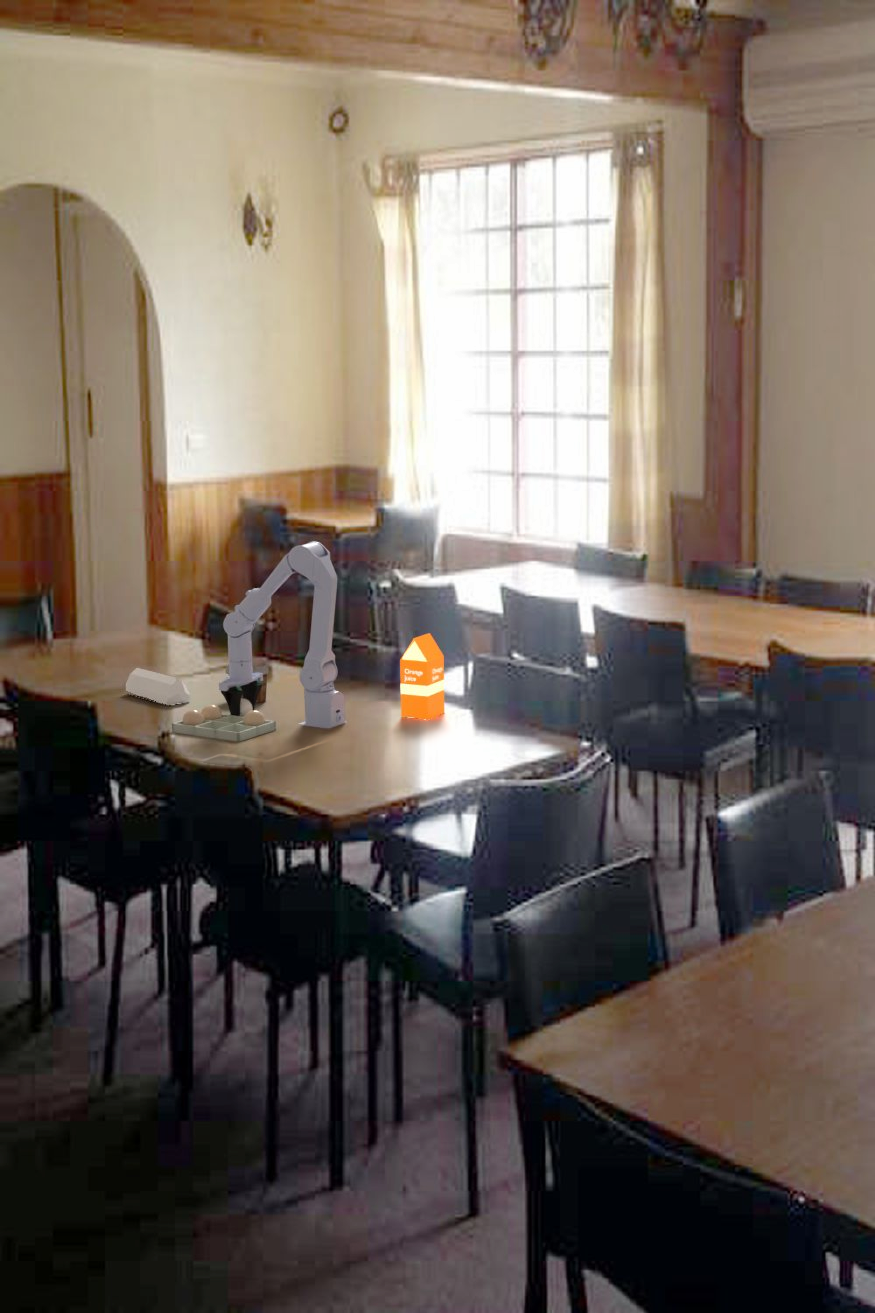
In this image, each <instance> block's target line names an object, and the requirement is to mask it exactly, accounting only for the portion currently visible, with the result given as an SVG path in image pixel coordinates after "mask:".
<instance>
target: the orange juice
mask: <svg viewBox="0 0 875 1313" xmlns="http://www.w3.org/2000/svg"><path fill="white" fill-rule="evenodd" d="M444 657H445V656H444V654H443V652H442V651H441V649H440V648H439V646H438V644H437V642H436V641H435V639H434V638H433V636H432V635H431V633H430V632H429V633H425V634H423V635H420V636H417V637H414V638H413V639H412V641H411V643H410V644H409V646H408V647H407V649H406V651H405V652H404V654H403V655H402V657H401V658H400V660H399V668H400V670H399V671H400V673H399V674H400V675H399V676H400V689H399V690H400V717H414V718H420V719H426V720H425V721H430V720H432V719H434V718H433V717H435V718H437V717H439V716H441V715H444V714H445V671H444V670H445V669H444V668H445V667H444V666H445V665H444V664H445V663H444V662H445V660H444ZM443 713H444V714H443ZM440 714H441V715H440ZM431 718H432V719H431ZM420 719H419V720H420ZM429 719H430V720H429Z"/></svg>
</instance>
